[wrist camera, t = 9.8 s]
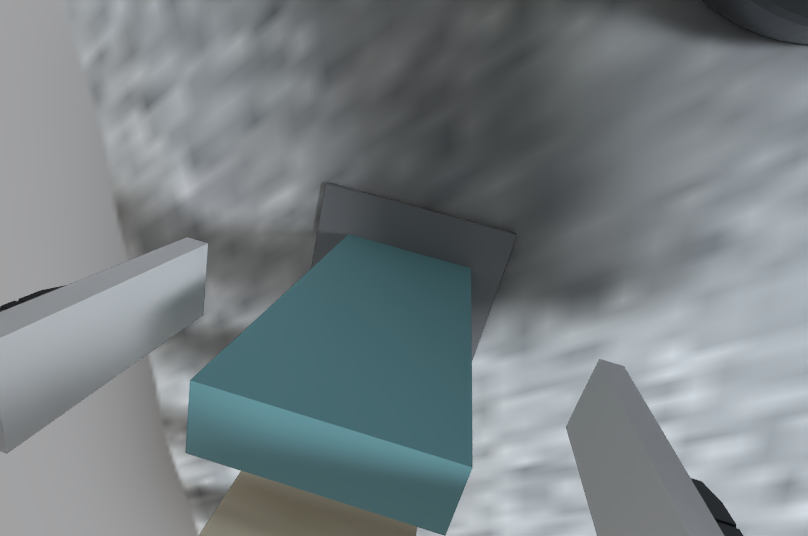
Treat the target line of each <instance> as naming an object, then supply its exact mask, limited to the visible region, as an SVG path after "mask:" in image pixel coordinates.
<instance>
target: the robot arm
mask: <svg viewBox="0 0 808 536" xmlns="http://www.w3.org/2000/svg"><path fill="white" fill-rule="evenodd" d="M703 1H704V2H705V3H706V4H707V5H708V6H709V7H711V8H712V9H713V10H715V11H716V12H717V13H719V14H720V15H721V16H723V17H725V18H726V19H728V20H730V21H731V22H733V23H735V24H737V25H739V26H741V27H743V28H745V29H747V30H749V31H752V32H755V33H757V34H760V35H763V36H766V37H770V38H773V39H777V40H782V41H787V42H793V43H801V44H808V0H703ZM207 251H208V243H205V242H201V241H198V240H195V239H191V238H188V237H186V238H184V239H181V240H179V241H176V242H174V243H171V244H169V245H166V246H164V247H161V248H159V249H156V250H154V251H151V252H149V253H146V254H144V255H141V256H139V257H136V258H134V259H131V260H129V261H126V262H124V263H121V264H119V265H117V266H114V267H111V268H109V269H106V270H104V271H102V272H99V273H96V274H94V275H91V276H89V277H86V278H84V279H81V280H79V281H76V282H74V283H71V284H69V285H65V286H60V287H56V288H51V289H46V290H41V291H38V292H36V293H33V294H30V295H28V296H25V297H23V298H20V299H19V301H13V302H10V303H8V304H5V305H2V306H1V307H0V451H1V452H4V453H8V452H10V451H11V450H13V449H14V448H15V447H17V446H18V445H20V444H21V443H22V442H24V441H25V440H27V439H28V438H30V437H31V436H32V435H34V434H35V433H36V432H38V431H39V430H41V429H42V428H44V427H45V426H46V425H48V424H49V423H51V422H52V421H54V420H55V419H56V418H58V417H59V416H61V415H62V414H64V413H65V412H66V411H68V410H69V409H71V408H72V407H73V406H75V405H76V404H77V403H79V402H81V401H82V400H83V399H85V398H86V397H88V396H89V395H90V394H92V393H93V392H95V391H96V390H97V389H99V388H100V387H102V386H103V385H105V384H106V383H107V382H109V381H110V380H112V379H113V378H114V377H116V376H117V375H119V374H120V373H121V372H123V371H124V370H126V369H127V368H129V367H130V366H131V365H133V364H134V363H136V362H137V361H139V360H140V359H141V358H143V357H144V356H146V355H147V354H148V353H150V352H151V351H153V350H154V349H156V348H157V347H158V346H160V345H161V344H163V343H164V342H165V341H167V340H168V339H170V338H171V337H173V336H174V335H175V334H177V333H178V332H180V331H181V330H182V329H184V328H185V327H187V326H188V325H190V324H191V323H192V322H194V321H195V320H197V319H198V318H199V317H201V316H202V315H203V311H204V296H205V281H206V266H207ZM566 429H567V432H568V436H569V439H570V443H571V446H572V450H573V453H574V457H575V460H576V464H577V467H578V471H579V474H580V478H581V481H582V485H583V488H584V492H585V495H586V499H587V502H588V506H589V509H590V513H591V516H592V520H593V523H594V527H595V530H596V534H597V536H743V535H742V533H741V531H740V530H739V529H736V524H735V522H734V520H733V519H732V517H731V516H730V514H729V513H728V511H727V509H726V508H725V506H724V505H723V503H722V502H721V501H720V500H719V499H718V498H717V497H716V496H715V495H714V494H713V493H712V492H711V491H710V490H709V489H708V488H707V487H706V486H705V485H704V483H703V482H701V481H698V480H695V479H692V478H690V477H689V475H688V473H687V472H686V470H685V468H684V467H683V465H682V463H681V462H680V460H679V458H678V457H677V455H676V453H675V451H674V450H673V448H672V446H671V445H670V443H669V441H668V440H667V438H666V436H665V435H664V433H663V431H662V430H661V428H660V426H659V424H658V423H657V421H656V419H655V418H654V416H653V414H652V413H651V411H650V409H649V408H648V406H647V404H646V403H645V401H644V399H643V398H642V396H641V394H640V392H639V391H638V389H637V387H636V386H635V384H634V382H633V381H632V379H631V377H630V376H629V374H628V372H627V371H626V369H625V367H624V366H621V365H618V364H615V363H611V362H608V361H604V360H601V359H599V361H598V363H597V365H596V367H595V369H594V371H593V373H592V375H591V377H590V379H589V381H588V383H587V385H586V387H585V389H584V391H583V393H582V395H581V397H580V399H579V401H578V403H577V405H576V407H575V410H574V412H573V414H572V416H571V418H570V420H569V422H568V424H567V426H566Z"/></svg>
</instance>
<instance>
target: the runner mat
mask: <svg viewBox="0 0 808 536" xmlns="http://www.w3.org/2000/svg"><path fill="white" fill-rule="evenodd" d="M348 234H350V235H354V236H358V237H361V238H365V239H368V240H372V241H375V242H379V243H383V244H386V245H390V246H393V247H397V248H400V249H404V250H408V251H411V252H415V253H418V254H422V255H425V256H429V257H433V258H436V259H440V260H443V261H447V262H450V263H454V264H458V265H461V266H465V267H468V268H471V339H472V360H473V357H474V354H475V351H476V349H477V346H478V343H479V340H480V337H481V335H482V332H483V329H484V326H485V323H486V320H487V318H488V315H489V312H490V309H491V306H492V304H493V301H494V298H495V295H496V292H497V289H498V287H499V284H500V281H501V278H502V275H503V273H504V270H505V267H506V264H507V261H508V258H509V256H510V253H511V250H512V247H513V244H514V242H515V239H516V234H515V233H511V232H508V231H504V230H500V229H497V228H493V227H489V226H486V225H482V224H478V223H475V222H471V221H467V220H464V219H460V218H456V217H453V216H449V215H445V214H442V213H438V212H435V211H431V210H427V209H424V208H420V207H416V206H413V205H409V204H405V203H402V202H398V201H394V200H391V199H387V198H383V197H380V196H376V195H372V194H369V193H365V192H361V191H358V190H354V189H350V188H347V187H343V186H339V185H336V184H332V183H326V186H325V191H324V197H323V203H322V209H321V215H320V221H319V226H318V232H317V238H316V244H315V250H314V256H313V261H312V267H311V268H313V267H314V266H315V265H316V264H317V263H318V262H319V261H320V260H321V259H322V258H323V257H324V256H326V255H327V254H328V253H329V252H330V251H331V250H332V249H333V248H334V247H335V246H336V245H337V244H339V243H340V242H341V241H342V240H343V239H344V238H345V237H346V236H347V235H348Z"/></svg>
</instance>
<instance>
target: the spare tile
mask: <svg viewBox="0 0 808 536" xmlns="http://www.w3.org/2000/svg"><path fill="white" fill-rule="evenodd" d="M186 453H188V454H191V455H194V456H197V457H200V458H203V459H206V460H210V461H213V462H216V463H219V464H222V465H225V466H228V467H232V468H235V469H238V470H241V471H244V472H247V473H250V474H253V475H257V476H260V477H263V478H266V479H269V480H272V481H275V482H279V483H282V484H285V485H288V486H291V487H294V488H297V489H300V490H304V491H307V492H310V493H313V494H316V495H319V496H322V497H326V498H329V499H332V500H335V501H338V502H341V503H344V504H347V505H351V506H354V507H357V508H360V509H363V510H366V511H369V512H372V513H376V514H379V515H382V516H385V517H388V518H391V519H394V520H398V521H401V522H404V523H407V524H410V525H413V526H416V527H419V528H423V529H426V530H429V531H432V532H435V533H438V534H441V535H446V532H447V530H448V527H449V525H450V522H451V520H452V517H453V515H454V512H455V510H456V507H457V505H458V502H459V500H460V497H461V495H462V492H463V490H464V487H465V485H466V482H467V480H468V477H469V475H470V472H471V470H472V339H471V268H468V267H465V266H461V265H458V264H454V263H450V262H447V261H443V260H440V259H436V258H433V257H429V256H425V255H422V254H418V253H415V252H411V251H408V250H404V249H400V248H397V247H393V246H390V245H386V244H383V243H379V242H375V241H372V240H368V239H365V238H361V237H358V236H354V235H350V234H348V235H347V236H346V237H345V238H344V239H343V240H342V241H341V242H340V243H339V244H337V245H336V246H335V247H334V248H333V249H332V250H331V251H330V252H329V253H328V254H327V255H326V256H324V257H323V258H322V259H321V260H320V261H319V262H318V263H317V264H316V265H315V266H314V267H313V268H311V269H310V270H309V271H308V272H307V273H306V274H305V275H304V276H303V277H302V278H301V279H300V280H298V281H297V282H296V283H295V284H294V285H293V286H292V287H291V288H290V289H289V290H288V291H287V292H285V293H284V294H283V295H282V296H281V297H280V298H279V299H278V300H277V301H276V302H275V303H274V304H272V305H271V306H270V307H269V308H268V309H267V310H266V311H265V312H264V313H263V314H262V315H261V316H259V317H258V318H257V319H256V320H255V321H254V322H253V323H252V324H251V325H250V326H249V327H247V328H246V329H245V330H244V331H243V332H242V333H241V334H240V335H239V336H238V337H237V338H236V339H234V340H233V341H232V342H231V343H230V344H229V345H228V346H227V347H226V348H225V349H224V350H223V351H221V352H220V353H219V354H218V355H217V356H216V357H215V358H214V359H213V360H212V361H211V362H210V363H208V364H207V365H206V366H205V367H204V368H203V369H202V370H201V371H200V372H199V373H198V374H197V375H195V376H194V377H193V378H192V379H191V380H190V391H189V406H188V422H187V438H186Z"/></svg>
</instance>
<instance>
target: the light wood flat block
mask: <svg viewBox="0 0 808 536" xmlns="http://www.w3.org/2000/svg"><path fill="white" fill-rule="evenodd" d="M416 531H417V527H416V526H413V525H410V524H407V523H404V522H401V521H398V520H394V519H391V518H388V517H385V516H382V515H379V514H376V513H372V512H369V511H366V510H363V509H360V508H357V507H354V506H351V505H347V504H344V503H341V502H338V501H335V500H332V499H329V498H326V497H322V496H319V495H316V494H313V493H310V492H307V491H304V490H300V489H297V488H294V487H291V486H288V485H285V484H282V483H279V482H275V481H272V480H269V479H266V478H263V477H260V476H257V475H253V474H250V473H247V472H244V471H241V472H240V473H239V475H238V476H237V478H236V479H235V481H234V482H233V484H232V486H231V487H230V489H229V490H228V492H227V493H226V495H225V496H224V498H223V499H222V501H221V502H220V504H219V505H218V507H217V508H216V510H215V511H214V513H213V514H212V516H211V518H210V519H209V521H208V522H207V524H206V525H205V527H204V528H203V530H202V531H201V533H200V534H199V536H416Z"/></svg>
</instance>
